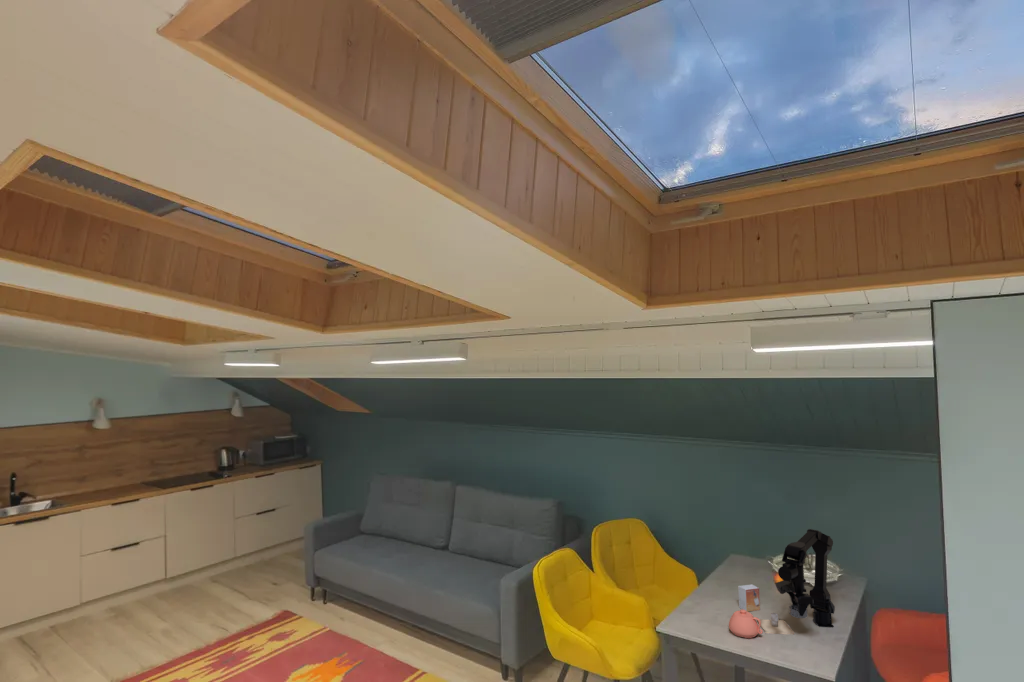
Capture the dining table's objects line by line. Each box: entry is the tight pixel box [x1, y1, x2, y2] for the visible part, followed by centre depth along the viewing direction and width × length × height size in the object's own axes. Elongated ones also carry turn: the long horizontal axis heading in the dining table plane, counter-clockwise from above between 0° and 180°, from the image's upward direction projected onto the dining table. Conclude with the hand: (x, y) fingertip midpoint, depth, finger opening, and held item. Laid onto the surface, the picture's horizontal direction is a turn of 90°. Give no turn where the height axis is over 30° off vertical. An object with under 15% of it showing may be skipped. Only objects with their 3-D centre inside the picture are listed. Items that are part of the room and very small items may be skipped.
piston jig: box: [756, 612, 795, 636], centre depth 248 cm, size 12×12×6 cm
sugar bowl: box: [728, 608, 764, 640], centre depth 242 cm, size 12×14×10 cm
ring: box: [788, 604, 808, 619], centre depth 238 cm, size 6×6×3 cm
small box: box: [737, 583, 761, 613], centre depth 269 cm, size 8×6×10 cm
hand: (798, 612), depth 238 cm, fingers closed on ring, 6 cm apart
